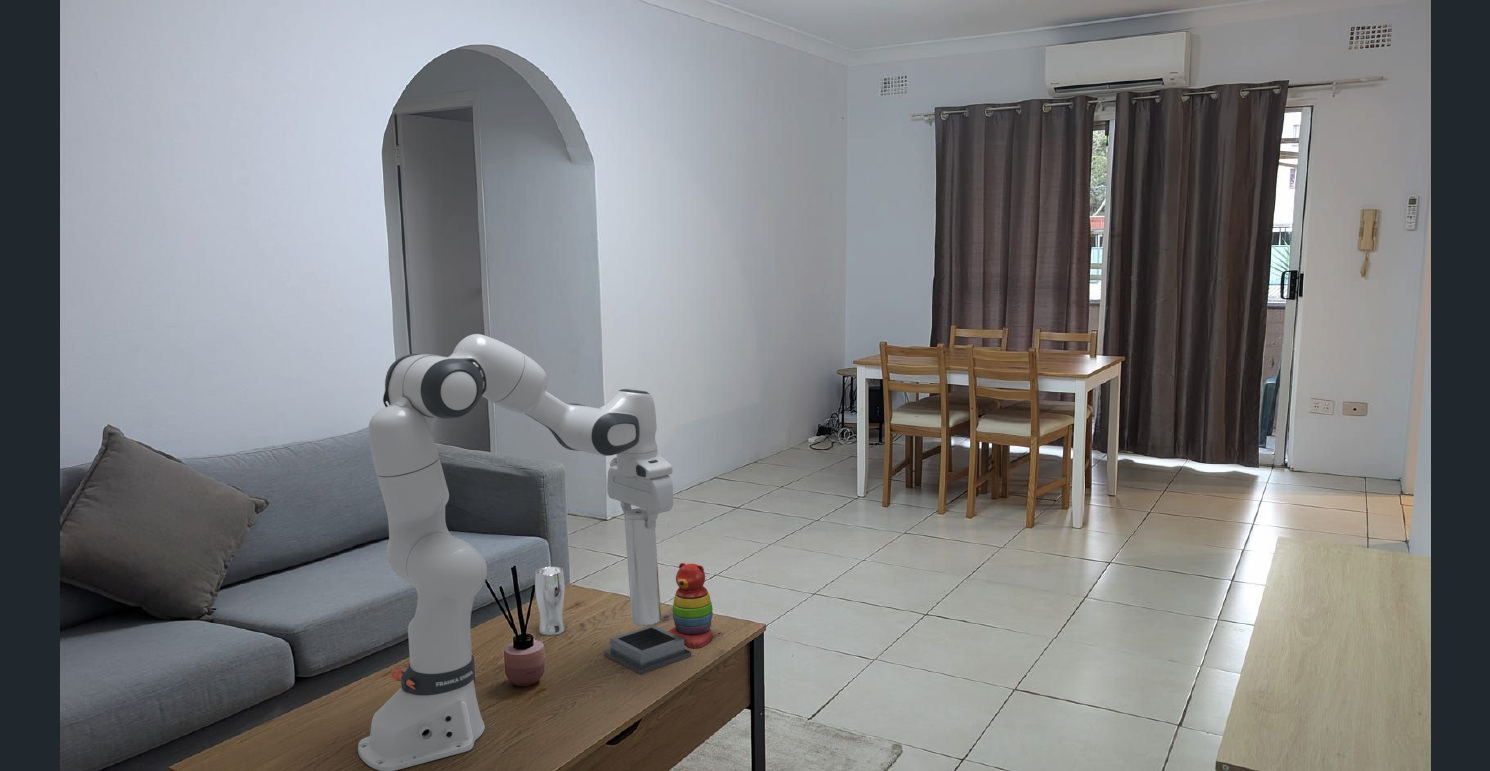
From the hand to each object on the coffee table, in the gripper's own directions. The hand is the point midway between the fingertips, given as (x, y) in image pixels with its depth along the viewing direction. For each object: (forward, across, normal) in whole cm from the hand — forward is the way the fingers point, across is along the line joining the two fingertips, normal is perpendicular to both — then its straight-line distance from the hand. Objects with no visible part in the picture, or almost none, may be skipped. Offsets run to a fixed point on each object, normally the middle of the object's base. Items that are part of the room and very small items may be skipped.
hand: (640, 524), depth 212 cm
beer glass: (+31, -29, -7) cm, 43 cm away
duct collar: (+31, -1, +1) cm, 31 cm away
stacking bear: (+31, -2, +15) cm, 35 cm away
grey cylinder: (+22, 0, +1) cm, 22 cm away
